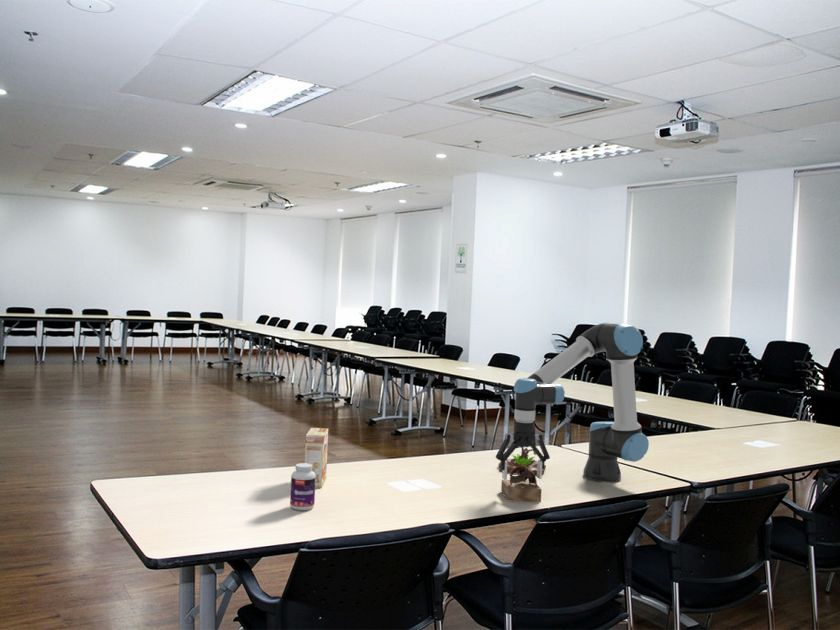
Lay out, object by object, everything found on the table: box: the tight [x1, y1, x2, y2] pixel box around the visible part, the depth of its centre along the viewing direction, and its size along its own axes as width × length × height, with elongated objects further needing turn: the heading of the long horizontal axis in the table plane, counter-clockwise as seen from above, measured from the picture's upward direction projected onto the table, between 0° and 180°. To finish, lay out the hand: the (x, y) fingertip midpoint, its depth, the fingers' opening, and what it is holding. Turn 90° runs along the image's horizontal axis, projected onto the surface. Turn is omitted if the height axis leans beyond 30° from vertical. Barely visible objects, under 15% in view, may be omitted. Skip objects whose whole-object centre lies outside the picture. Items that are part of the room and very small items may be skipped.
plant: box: [498, 446, 547, 476], centre depth 305 cm, size 20×20×11 cm
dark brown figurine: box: [509, 465, 538, 487], centre depth 263 cm, size 12×10×8 cm
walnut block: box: [500, 479, 542, 502], centre depth 264 cm, size 12×12×5 cm
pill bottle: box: [289, 462, 316, 512], centre depth 239 cm, size 8×8×14 cm
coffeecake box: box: [304, 427, 329, 489], centre depth 271 cm, size 15×7×20 cm, turn 0°
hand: (521, 478), depth 263 cm, fingers open, 13 cm apart
